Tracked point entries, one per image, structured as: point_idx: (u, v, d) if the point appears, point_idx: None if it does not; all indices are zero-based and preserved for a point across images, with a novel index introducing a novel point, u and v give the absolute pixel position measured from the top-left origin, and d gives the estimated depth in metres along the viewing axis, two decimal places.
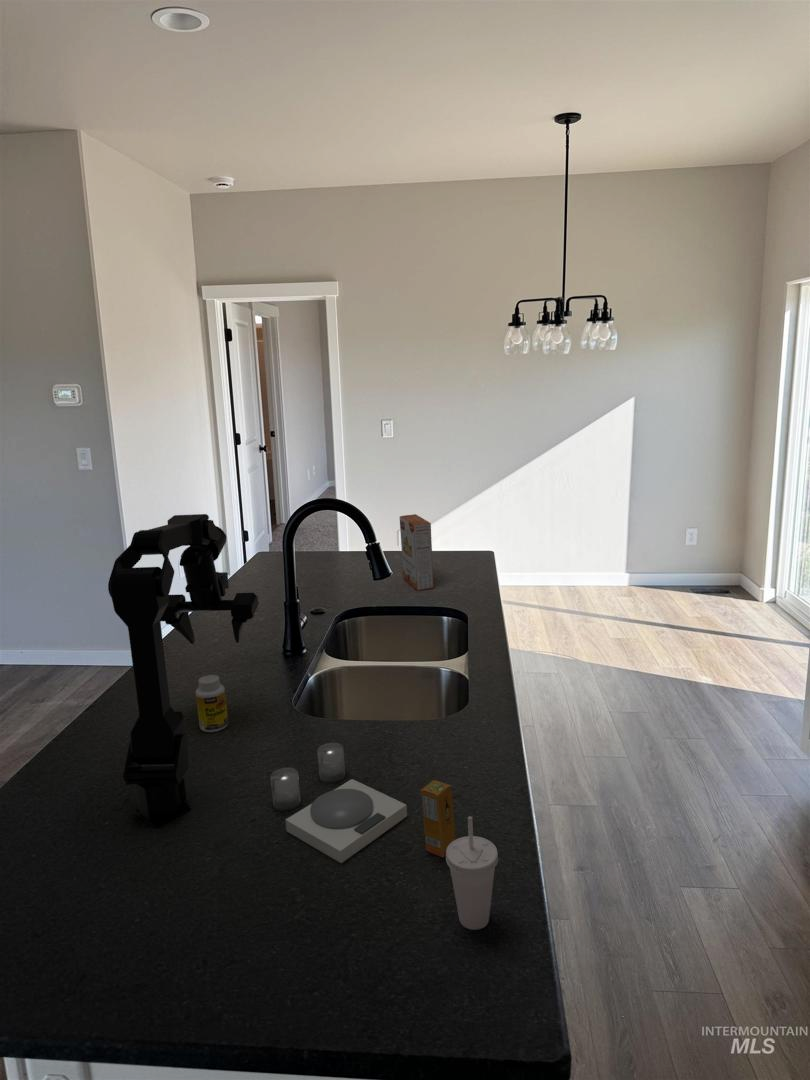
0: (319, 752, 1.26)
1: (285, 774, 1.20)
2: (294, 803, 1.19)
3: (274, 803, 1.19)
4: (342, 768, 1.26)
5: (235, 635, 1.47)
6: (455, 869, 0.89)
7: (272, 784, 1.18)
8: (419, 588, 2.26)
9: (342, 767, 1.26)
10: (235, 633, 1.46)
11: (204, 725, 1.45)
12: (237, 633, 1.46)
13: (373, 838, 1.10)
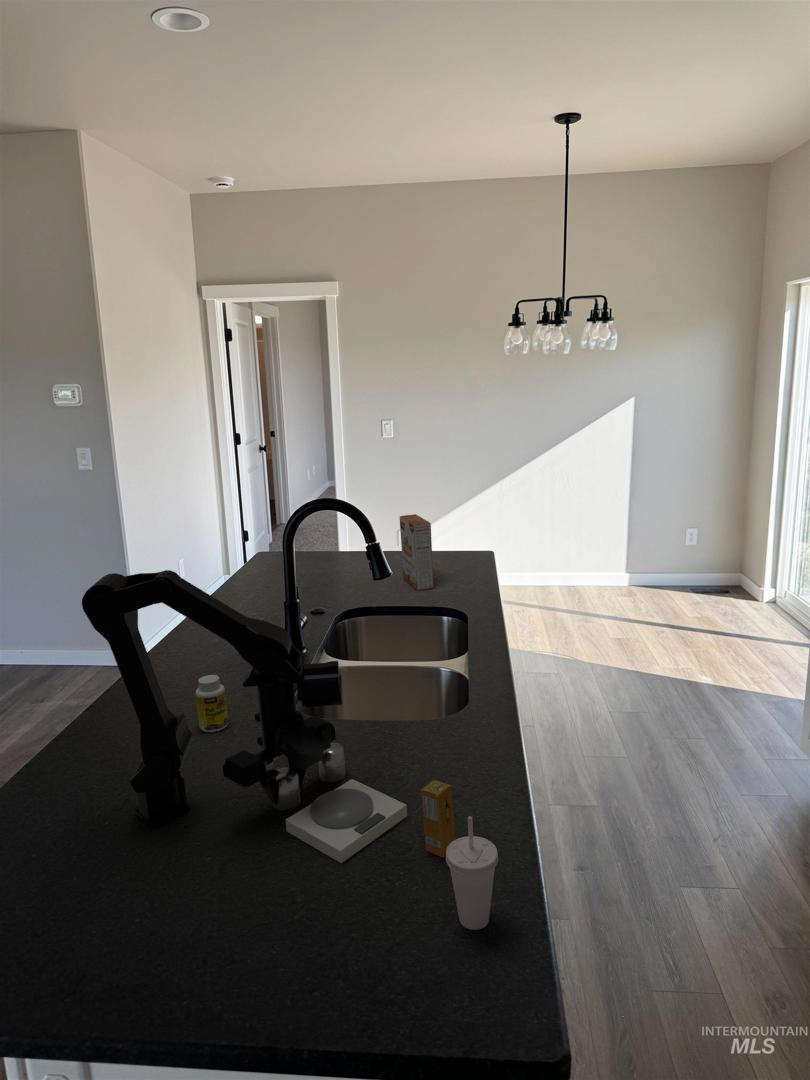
0: None
1: (285, 774, 1.20)
2: (294, 803, 1.19)
3: None
4: (342, 768, 1.26)
5: None
6: (455, 869, 0.89)
7: None
8: (419, 588, 2.26)
9: (342, 767, 1.26)
10: None
11: (204, 725, 1.45)
12: None
13: (373, 838, 1.10)
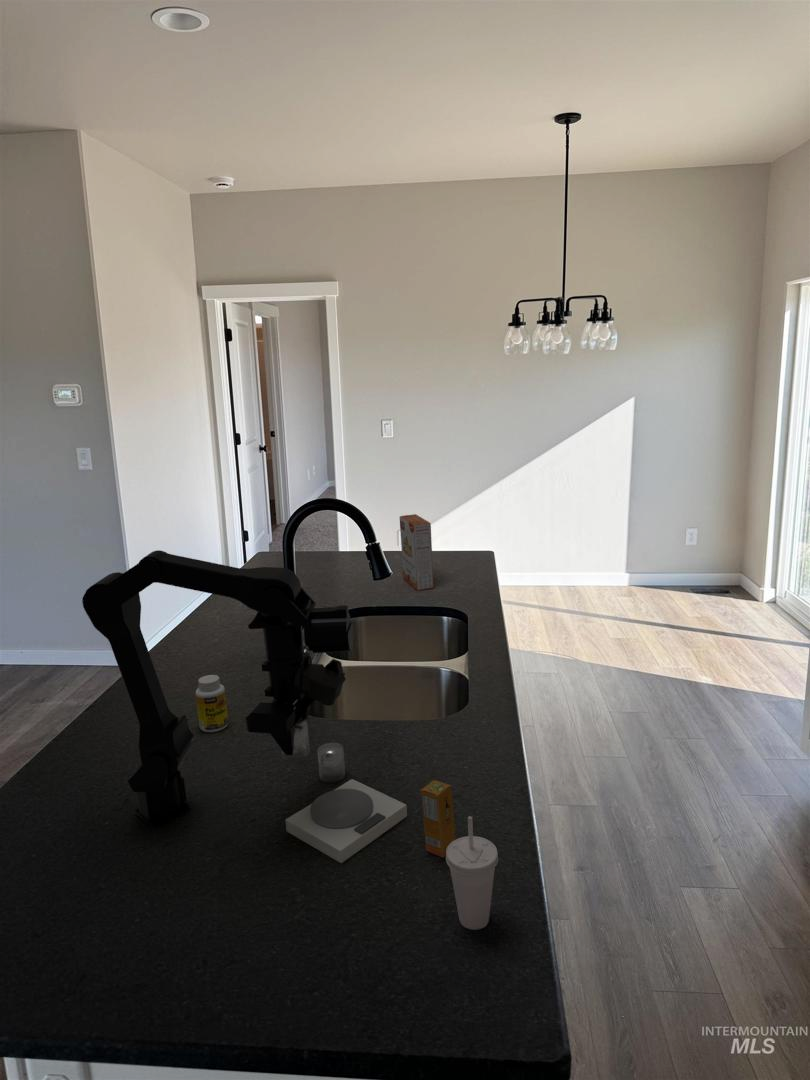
0: (319, 752, 1.26)
1: None
2: (308, 749, 1.15)
3: (287, 755, 1.14)
4: (342, 768, 1.26)
5: None
6: (455, 869, 0.89)
7: None
8: (419, 588, 2.26)
9: (342, 767, 1.26)
10: None
11: (204, 725, 1.45)
12: None
13: (373, 838, 1.10)
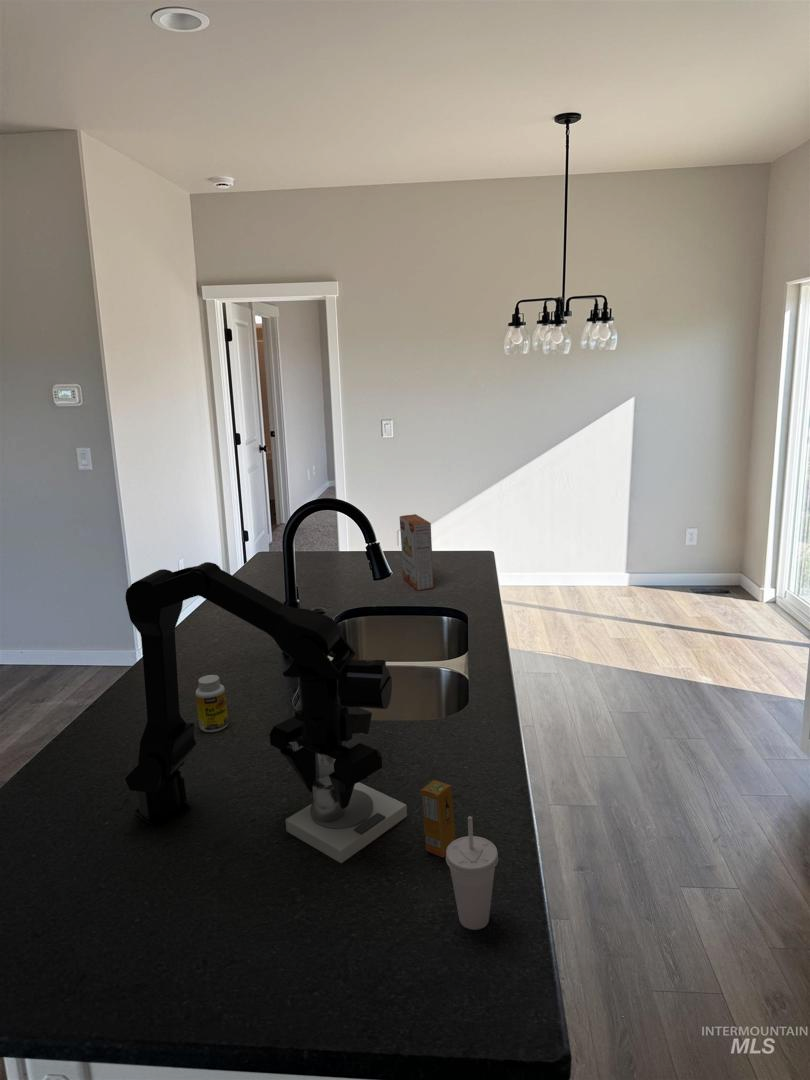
0: None
1: (326, 783, 1.12)
2: None
3: (337, 815, 1.11)
4: None
5: (337, 796, 1.08)
6: (455, 869, 0.89)
7: (335, 795, 1.10)
8: (419, 588, 2.26)
9: None
10: (336, 794, 1.07)
11: (204, 725, 1.45)
12: (338, 795, 1.07)
13: (373, 838, 1.10)
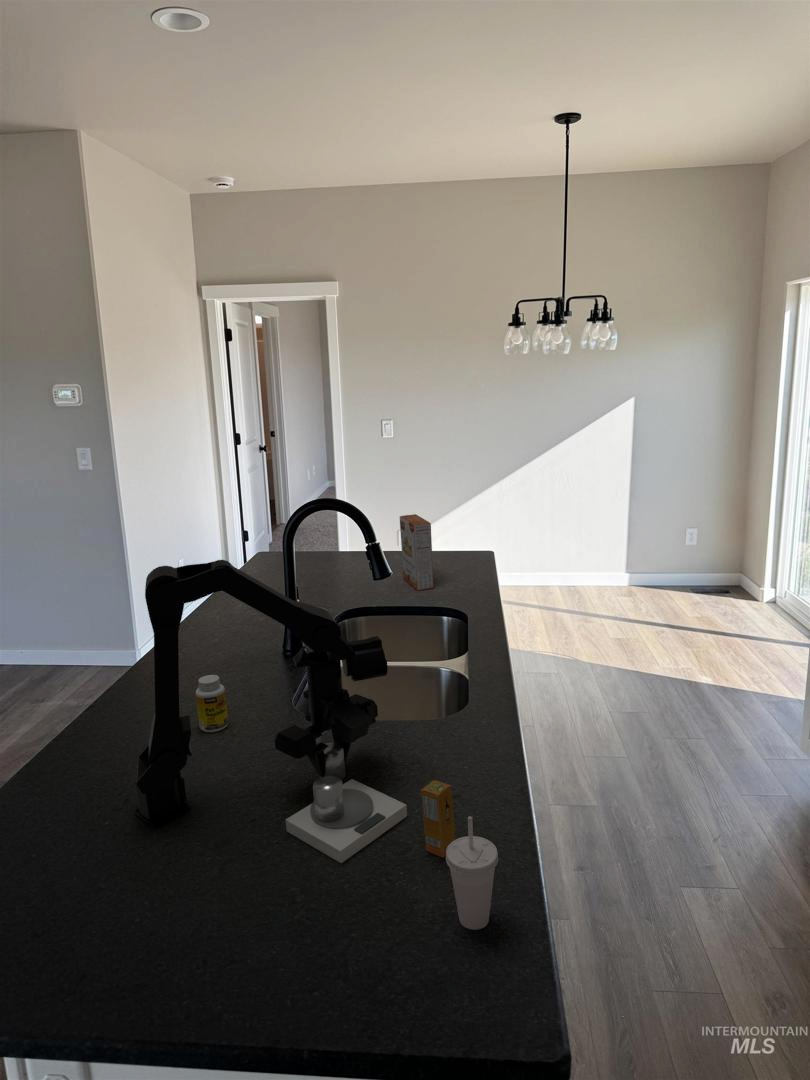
0: None
1: (327, 783, 1.12)
2: None
3: (337, 815, 1.11)
4: (342, 768, 1.26)
5: None
6: (455, 869, 0.89)
7: (335, 795, 1.10)
8: (419, 588, 2.26)
9: (342, 767, 1.26)
10: None
11: (204, 725, 1.45)
12: None
13: (373, 838, 1.10)
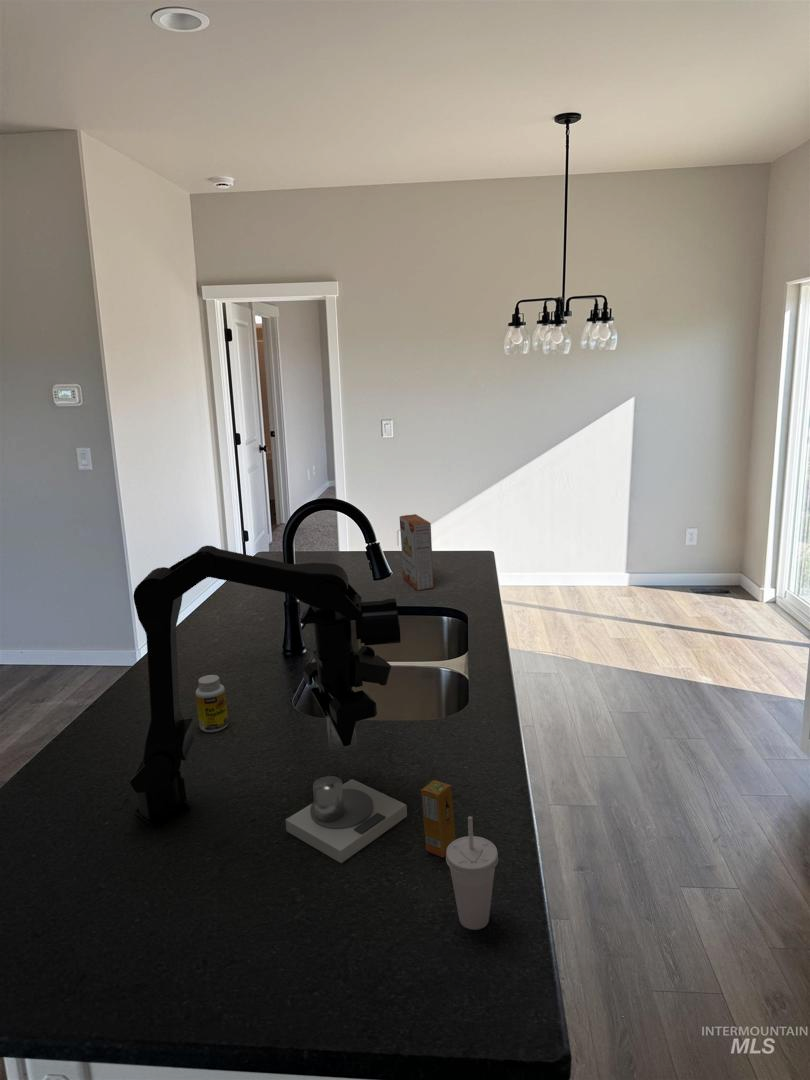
0: None
1: (327, 783, 1.12)
2: None
3: (337, 815, 1.11)
4: None
5: (337, 733, 1.15)
6: (455, 869, 0.89)
7: (336, 795, 1.10)
8: (419, 588, 2.26)
9: None
10: None
11: (204, 725, 1.45)
12: (336, 731, 1.14)
13: (373, 838, 1.10)
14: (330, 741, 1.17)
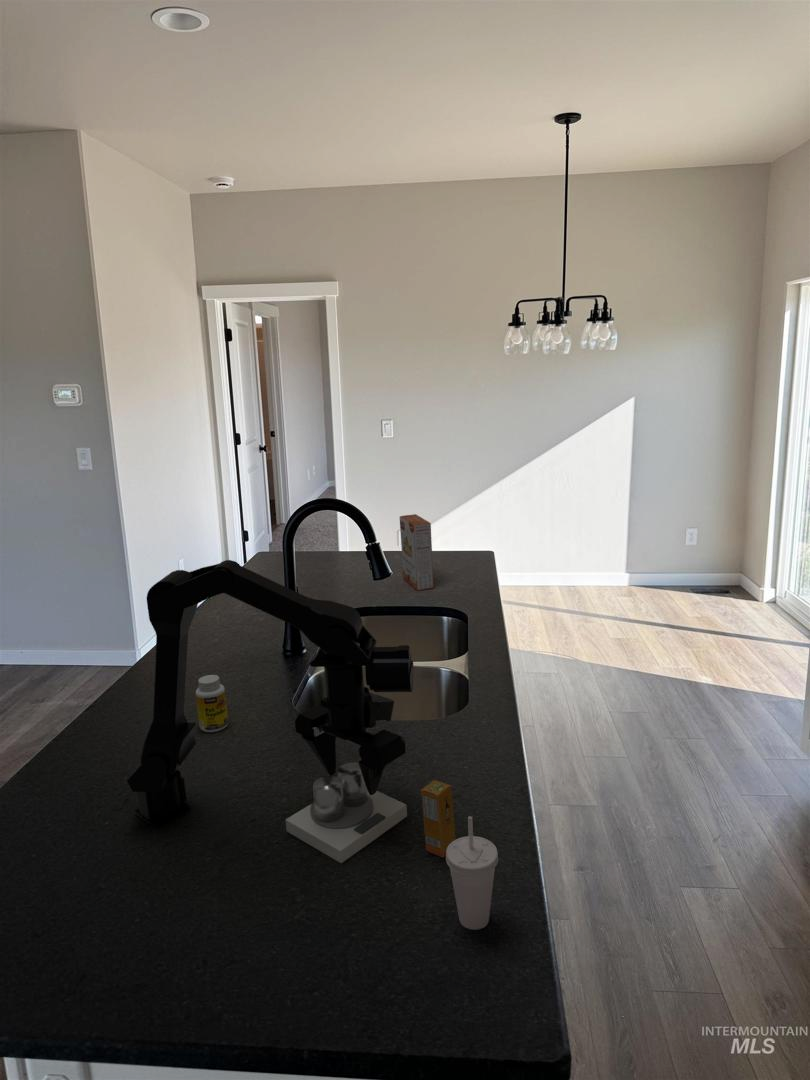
0: (356, 775, 1.13)
1: (327, 783, 1.12)
2: None
3: (337, 815, 1.11)
4: None
5: (366, 783, 1.11)
6: (455, 869, 0.89)
7: (336, 795, 1.10)
8: (419, 588, 2.26)
9: None
10: (365, 780, 1.10)
11: (204, 725, 1.45)
12: (367, 781, 1.10)
13: (373, 838, 1.10)
14: (346, 798, 1.14)
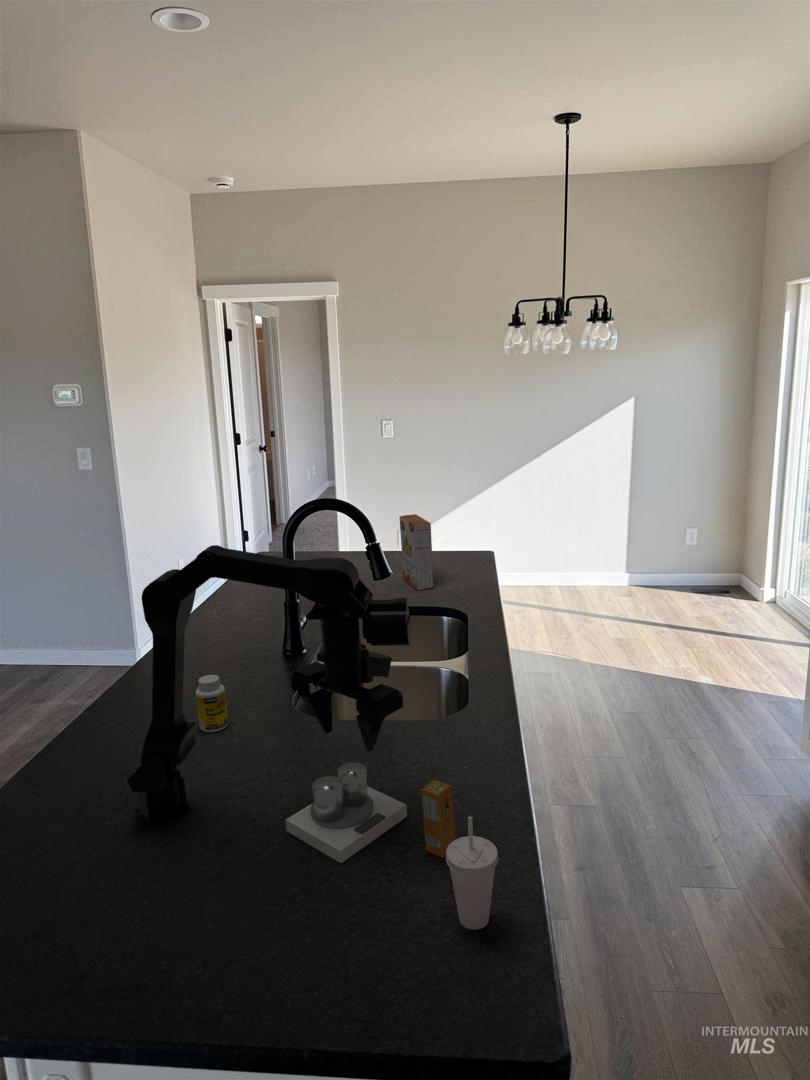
0: (357, 775, 1.13)
1: (326, 783, 1.11)
2: None
3: (337, 815, 1.11)
4: None
5: (363, 739, 1.09)
6: (455, 869, 0.89)
7: (335, 795, 1.10)
8: (419, 588, 2.26)
9: None
10: (363, 736, 1.08)
11: (204, 725, 1.45)
12: (365, 737, 1.08)
13: (373, 838, 1.10)
14: (346, 798, 1.14)
